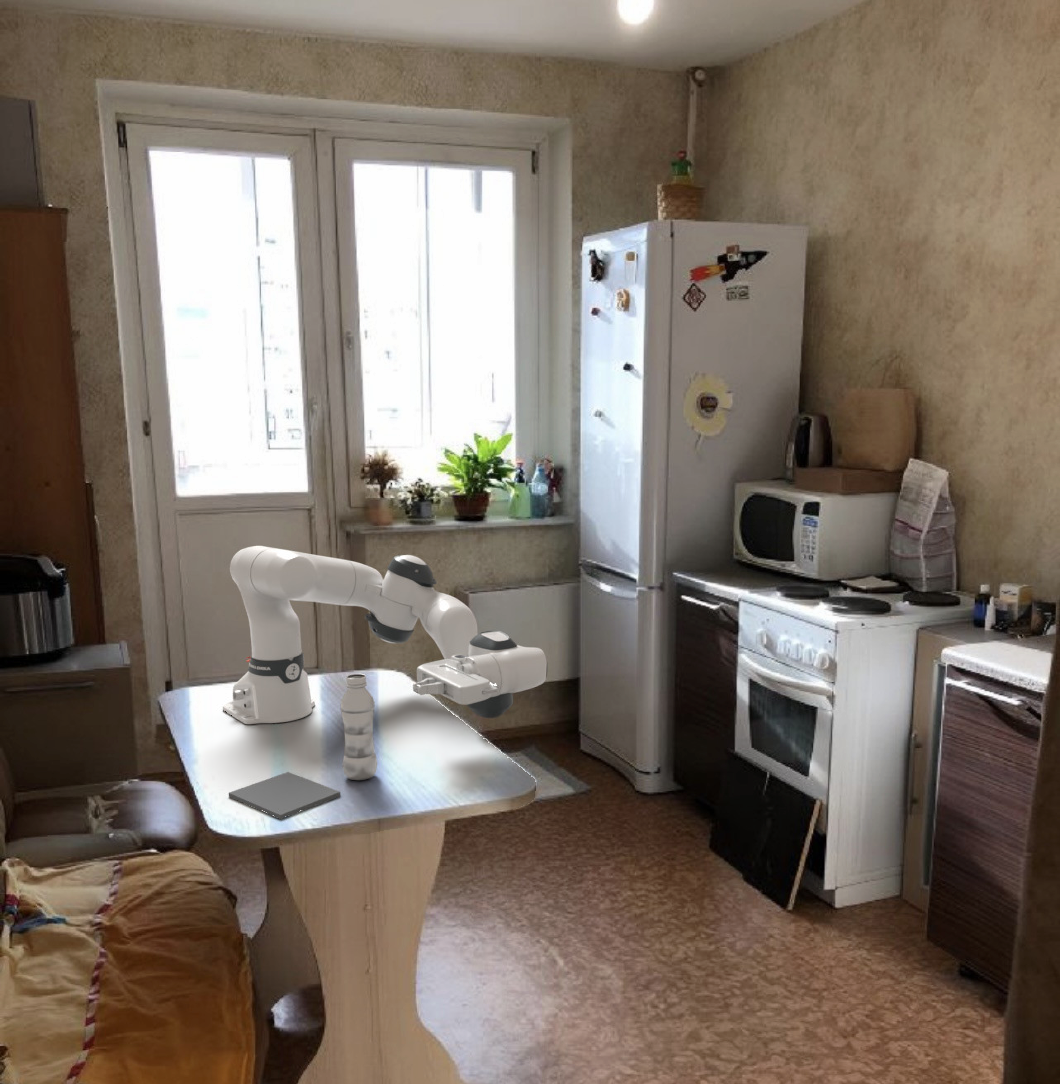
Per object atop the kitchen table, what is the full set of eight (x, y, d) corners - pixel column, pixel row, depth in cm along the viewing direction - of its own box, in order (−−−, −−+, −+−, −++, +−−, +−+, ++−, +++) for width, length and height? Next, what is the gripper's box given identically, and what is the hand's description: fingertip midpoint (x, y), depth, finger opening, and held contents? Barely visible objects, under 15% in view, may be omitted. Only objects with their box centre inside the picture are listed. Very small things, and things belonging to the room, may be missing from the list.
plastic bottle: (364, 768, 192) (359, 669, 190) (385, 777, 188) (380, 676, 185) (336, 778, 188) (331, 676, 185) (356, 787, 183) (351, 683, 180)
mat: (228, 796, 180) (228, 792, 180) (288, 775, 190) (288, 771, 189) (280, 819, 169) (280, 815, 169) (340, 795, 179) (340, 791, 179)
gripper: (504, 705, 191) (441, 718, 184) (454, 681, 208) (395, 693, 201) (503, 673, 190) (439, 685, 183) (453, 652, 207) (393, 663, 200)
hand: (416, 689), depth 192 cm, fingers closed
